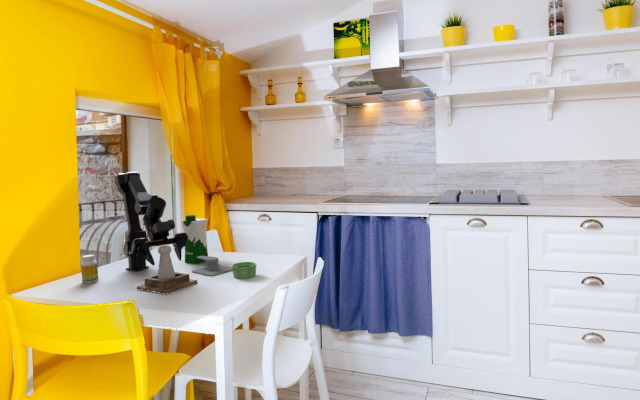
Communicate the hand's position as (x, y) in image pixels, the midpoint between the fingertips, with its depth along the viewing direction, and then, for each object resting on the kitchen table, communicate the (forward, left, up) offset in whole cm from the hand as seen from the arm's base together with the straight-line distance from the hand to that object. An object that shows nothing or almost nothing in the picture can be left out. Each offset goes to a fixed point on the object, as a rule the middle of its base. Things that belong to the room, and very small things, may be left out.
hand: (167, 262), depth 157 cm
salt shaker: (-2, +1, -8) cm, 8 cm away
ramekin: (+16, +22, -9) cm, 28 cm away
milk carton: (-18, +33, -9) cm, 38 cm away
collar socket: (-1, +1, -9) cm, 9 cm away
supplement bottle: (-33, -6, -9) cm, 35 cm away
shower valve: (-2, +23, -9) cm, 25 cm away
